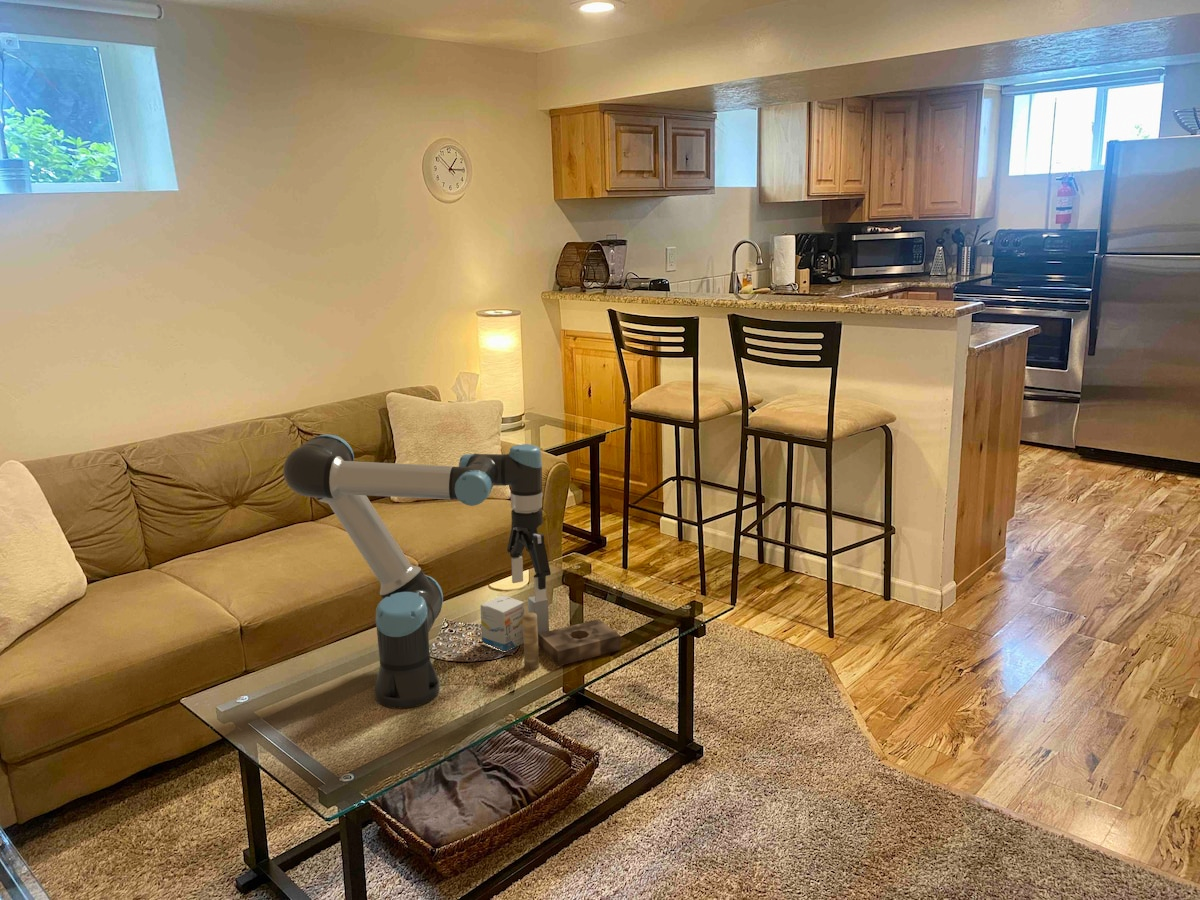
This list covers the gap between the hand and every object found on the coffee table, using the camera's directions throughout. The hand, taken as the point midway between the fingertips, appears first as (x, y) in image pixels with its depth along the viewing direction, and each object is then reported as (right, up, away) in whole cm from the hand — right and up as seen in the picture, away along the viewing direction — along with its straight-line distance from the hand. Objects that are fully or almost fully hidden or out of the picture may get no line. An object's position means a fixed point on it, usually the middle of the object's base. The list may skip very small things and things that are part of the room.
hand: (528, 591), depth 219 cm
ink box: (-8, -17, +18) cm, 26 cm away
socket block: (+12, -17, +14) cm, 25 cm away
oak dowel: (0, -20, +4) cm, 20 cm away
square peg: (+1, -16, +19) cm, 25 cm away
